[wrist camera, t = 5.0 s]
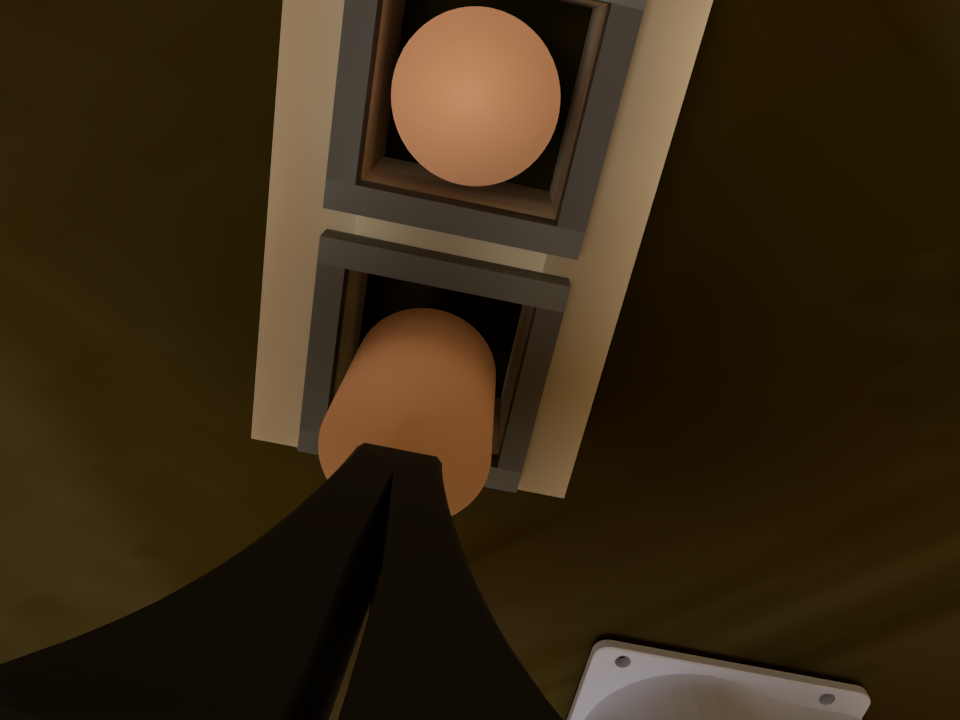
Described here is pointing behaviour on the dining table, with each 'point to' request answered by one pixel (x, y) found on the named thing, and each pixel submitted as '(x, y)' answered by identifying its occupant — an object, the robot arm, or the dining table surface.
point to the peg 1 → (475, 96)
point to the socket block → (461, 221)
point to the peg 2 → (419, 399)
